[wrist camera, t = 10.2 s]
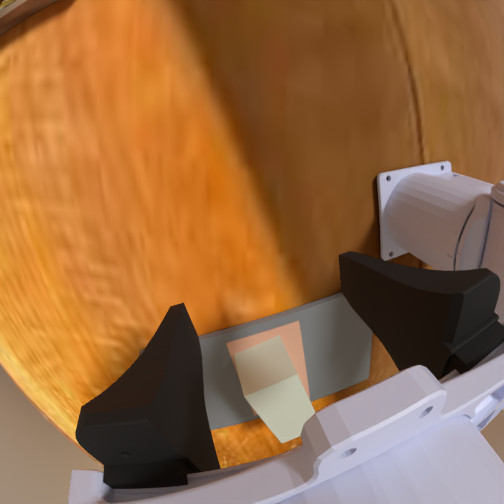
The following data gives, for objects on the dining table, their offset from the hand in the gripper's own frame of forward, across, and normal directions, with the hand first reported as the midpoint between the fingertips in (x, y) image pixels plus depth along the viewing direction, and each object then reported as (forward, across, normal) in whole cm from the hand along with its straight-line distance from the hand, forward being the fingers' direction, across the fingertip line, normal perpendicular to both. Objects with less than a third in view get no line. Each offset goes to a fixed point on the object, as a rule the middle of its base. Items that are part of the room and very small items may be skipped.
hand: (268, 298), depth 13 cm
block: (+9, 0, +15) cm, 18 cm away
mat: (+9, 0, +15) cm, 18 cm away
